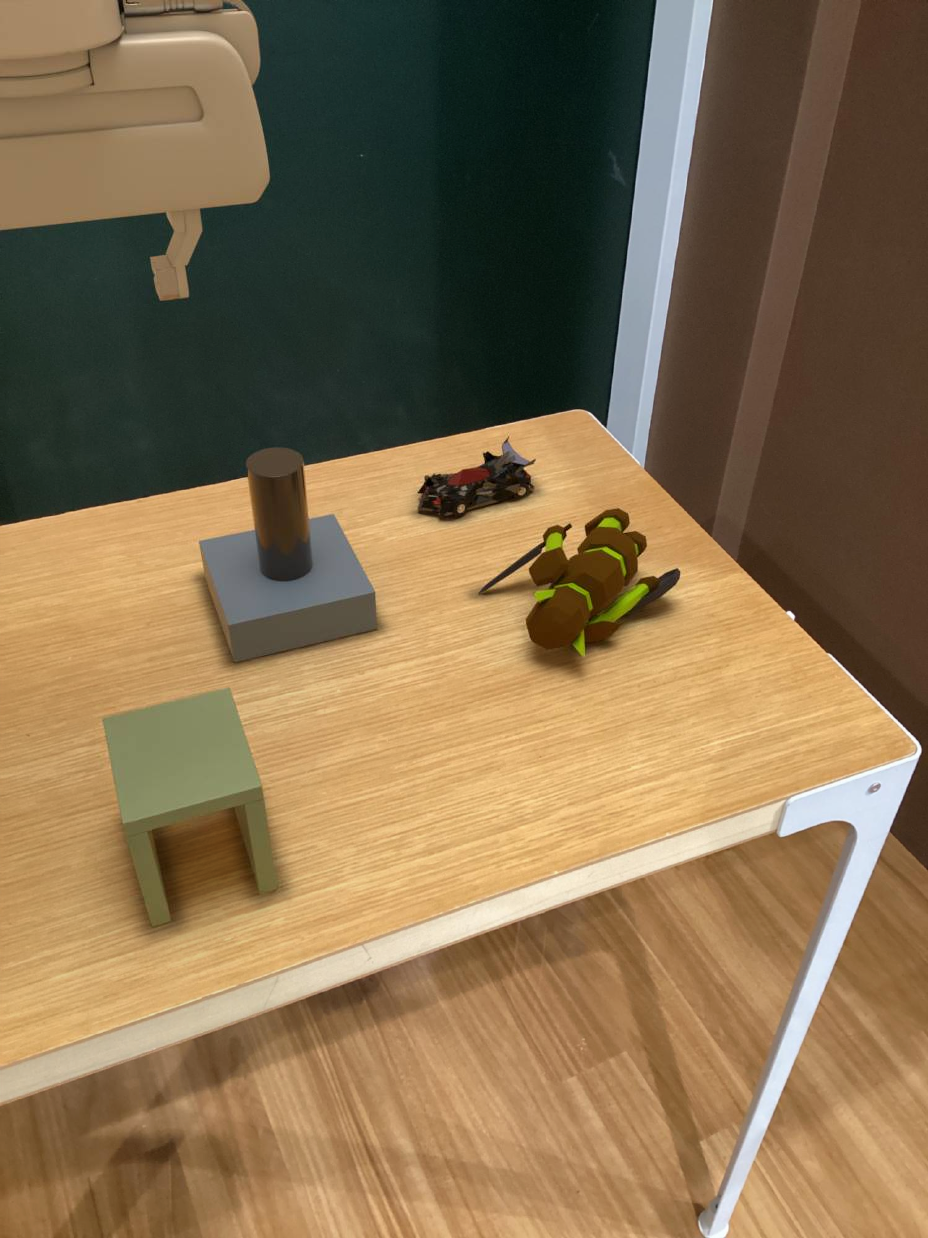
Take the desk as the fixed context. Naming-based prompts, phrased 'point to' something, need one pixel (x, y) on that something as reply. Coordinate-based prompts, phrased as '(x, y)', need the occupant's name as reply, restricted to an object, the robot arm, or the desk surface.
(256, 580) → the low gray rectangular block
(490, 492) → the toy car
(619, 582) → the goblin
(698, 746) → the desk surface
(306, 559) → the glossy brown cylinder
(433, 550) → the desk surface
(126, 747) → the sage green stool
